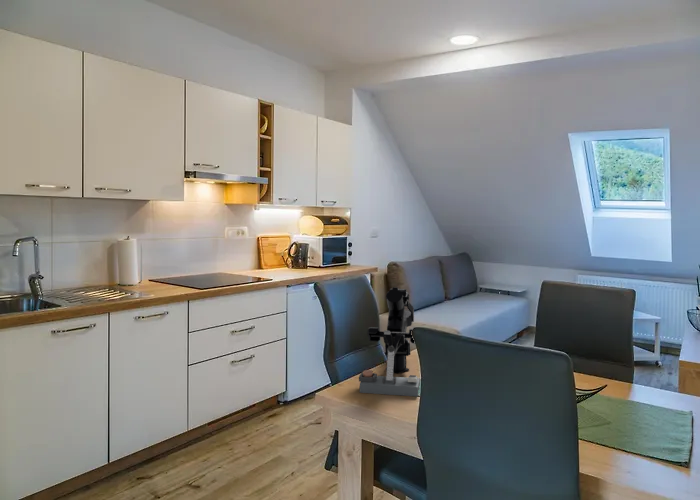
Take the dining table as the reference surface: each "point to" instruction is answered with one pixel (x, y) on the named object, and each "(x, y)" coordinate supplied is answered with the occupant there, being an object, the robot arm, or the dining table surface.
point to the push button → (367, 373)
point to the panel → (388, 385)
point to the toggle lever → (390, 363)
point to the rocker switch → (412, 378)
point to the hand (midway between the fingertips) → (392, 356)
